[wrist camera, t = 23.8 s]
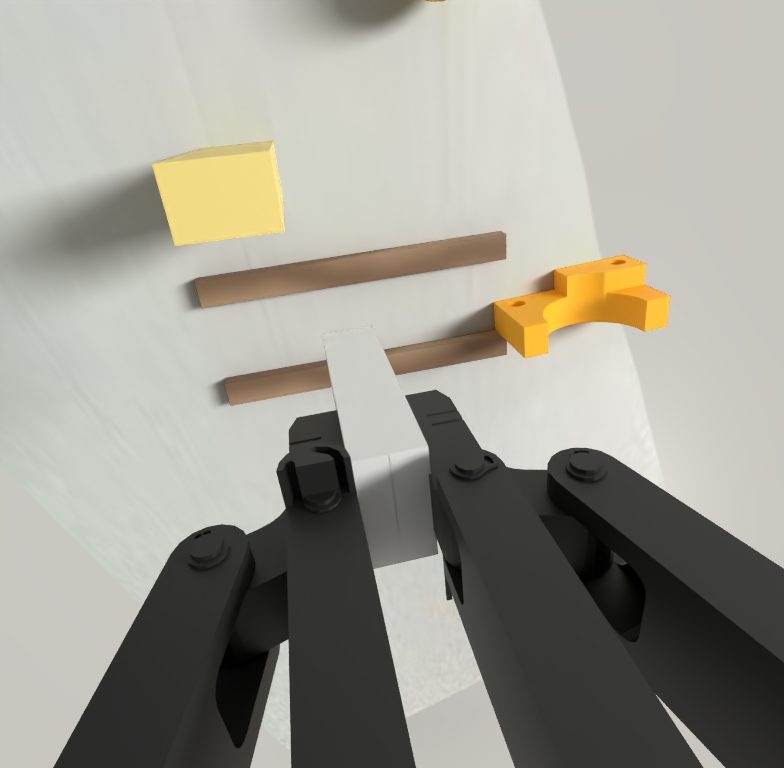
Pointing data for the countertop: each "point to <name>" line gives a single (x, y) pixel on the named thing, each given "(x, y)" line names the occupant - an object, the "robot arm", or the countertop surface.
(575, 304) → the pipe clamp
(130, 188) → the countertop surface
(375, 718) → the robot arm
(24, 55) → the countertop surface
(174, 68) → the countertop surface
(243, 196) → the yellow rectangular block
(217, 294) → the channel
